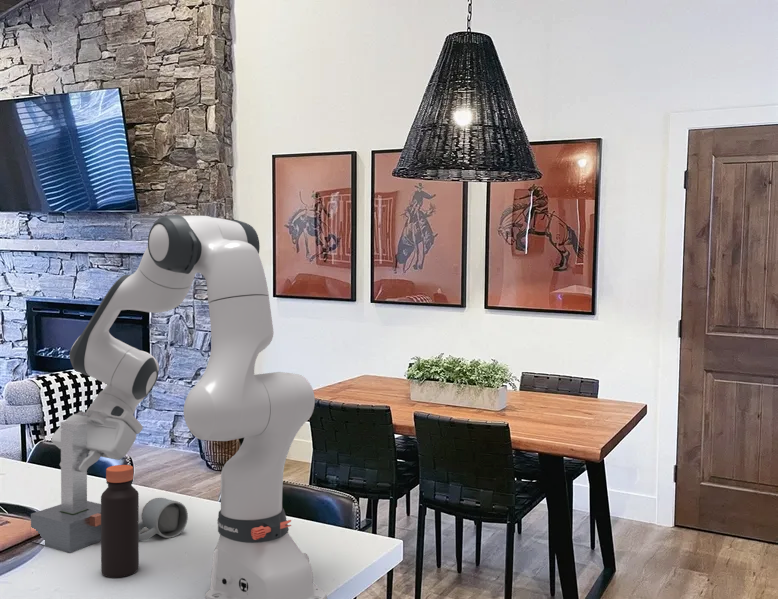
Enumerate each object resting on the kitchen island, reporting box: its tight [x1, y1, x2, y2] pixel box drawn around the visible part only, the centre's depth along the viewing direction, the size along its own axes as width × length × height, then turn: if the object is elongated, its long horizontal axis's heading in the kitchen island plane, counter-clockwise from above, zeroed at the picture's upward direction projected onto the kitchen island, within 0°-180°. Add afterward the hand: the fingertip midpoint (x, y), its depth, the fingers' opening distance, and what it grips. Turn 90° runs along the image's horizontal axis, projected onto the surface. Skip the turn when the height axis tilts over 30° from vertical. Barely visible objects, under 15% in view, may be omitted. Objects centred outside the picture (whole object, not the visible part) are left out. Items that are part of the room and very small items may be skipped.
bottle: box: [100, 464, 140, 579], centre depth 148 cm, size 7×7×20 cm
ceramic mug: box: [139, 497, 189, 542], centre depth 168 cm, size 11×8×8 cm
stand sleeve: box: [30, 500, 101, 554], centre depth 164 cm, size 14×12×6 cm
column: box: [60, 420, 88, 515], centre depth 164 cm, size 5×4×21 cm
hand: (71, 469), depth 164 cm, fingers closed on column, 4 cm apart
